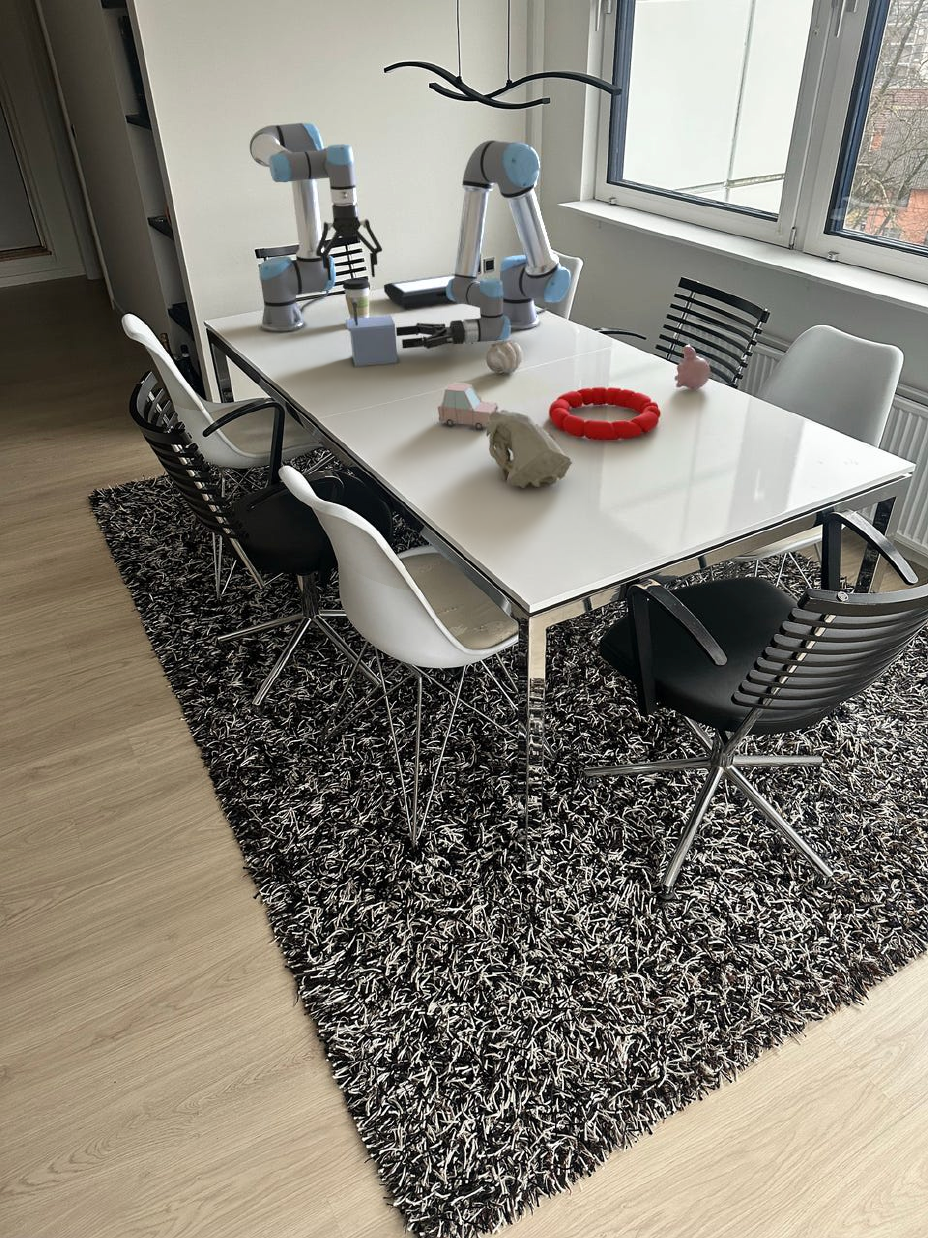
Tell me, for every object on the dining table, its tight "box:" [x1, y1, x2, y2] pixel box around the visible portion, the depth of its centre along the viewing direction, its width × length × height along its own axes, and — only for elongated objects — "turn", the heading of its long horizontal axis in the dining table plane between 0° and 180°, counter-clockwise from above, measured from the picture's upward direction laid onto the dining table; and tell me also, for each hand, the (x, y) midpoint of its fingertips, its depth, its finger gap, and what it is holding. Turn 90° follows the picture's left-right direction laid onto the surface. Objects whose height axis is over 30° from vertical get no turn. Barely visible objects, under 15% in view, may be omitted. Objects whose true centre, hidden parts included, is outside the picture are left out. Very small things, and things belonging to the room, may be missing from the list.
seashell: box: [485, 340, 523, 374], centre depth 276 cm, size 10×15×10 cm
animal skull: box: [485, 409, 573, 489], centre depth 216 cm, size 17×25×20 cm
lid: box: [345, 298, 396, 333], centre depth 284 cm, size 15×10×8 cm
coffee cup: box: [342, 277, 371, 319], centre depth 323 cm, size 10×10×15 cm
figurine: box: [674, 344, 711, 390], centre depth 259 cm, size 9×11×12 cm
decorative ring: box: [548, 386, 661, 442], centre depth 242 cm, size 7×30×30 cm
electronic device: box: [383, 273, 456, 311], centre depth 349 cm, size 32×6×20 cm
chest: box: [349, 327, 398, 367], centre depth 290 cm, size 14×10×11 cm
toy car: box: [437, 382, 499, 431], centre depth 243 cm, size 9×15×10 cm, turn 70°
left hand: (351, 277), depth 277 cm, fingers open, 13 cm apart
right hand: (399, 337), depth 289 cm, fingers open, 13 cm apart
